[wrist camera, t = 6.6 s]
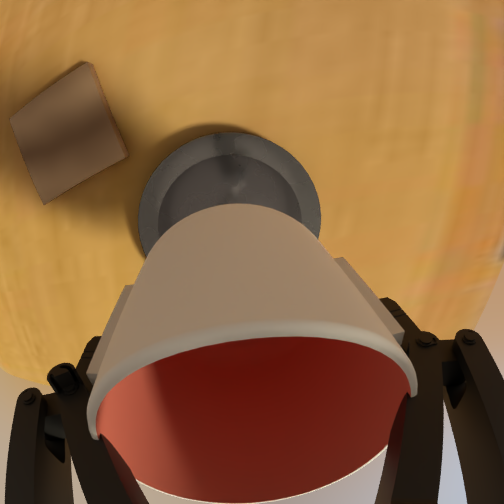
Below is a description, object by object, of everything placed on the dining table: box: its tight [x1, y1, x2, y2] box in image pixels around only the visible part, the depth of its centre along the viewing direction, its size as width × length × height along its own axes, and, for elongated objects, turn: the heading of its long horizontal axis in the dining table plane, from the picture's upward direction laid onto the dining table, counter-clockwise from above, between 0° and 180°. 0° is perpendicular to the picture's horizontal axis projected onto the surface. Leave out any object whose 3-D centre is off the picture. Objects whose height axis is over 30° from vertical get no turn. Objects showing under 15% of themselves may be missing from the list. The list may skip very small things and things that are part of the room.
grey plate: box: [138, 132, 321, 257], centre depth 25 cm, size 15×15×2 cm
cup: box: [87, 204, 418, 504], centre depth 12 cm, size 10×10×10 cm
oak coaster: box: [9, 62, 129, 205], centre depth 21 cm, size 9×9×1 cm
